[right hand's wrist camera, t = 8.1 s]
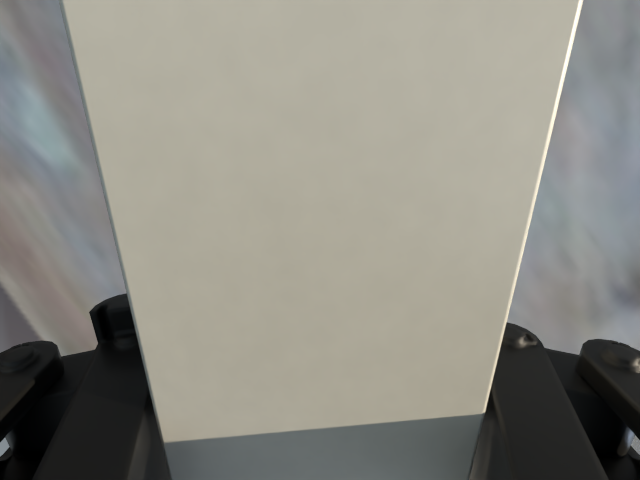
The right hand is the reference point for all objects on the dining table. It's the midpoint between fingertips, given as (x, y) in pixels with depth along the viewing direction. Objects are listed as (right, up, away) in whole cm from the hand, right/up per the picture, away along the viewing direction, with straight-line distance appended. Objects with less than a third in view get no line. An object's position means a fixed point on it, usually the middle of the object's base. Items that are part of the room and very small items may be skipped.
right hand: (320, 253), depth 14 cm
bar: (0, +8, -3) cm, 9 cm away
